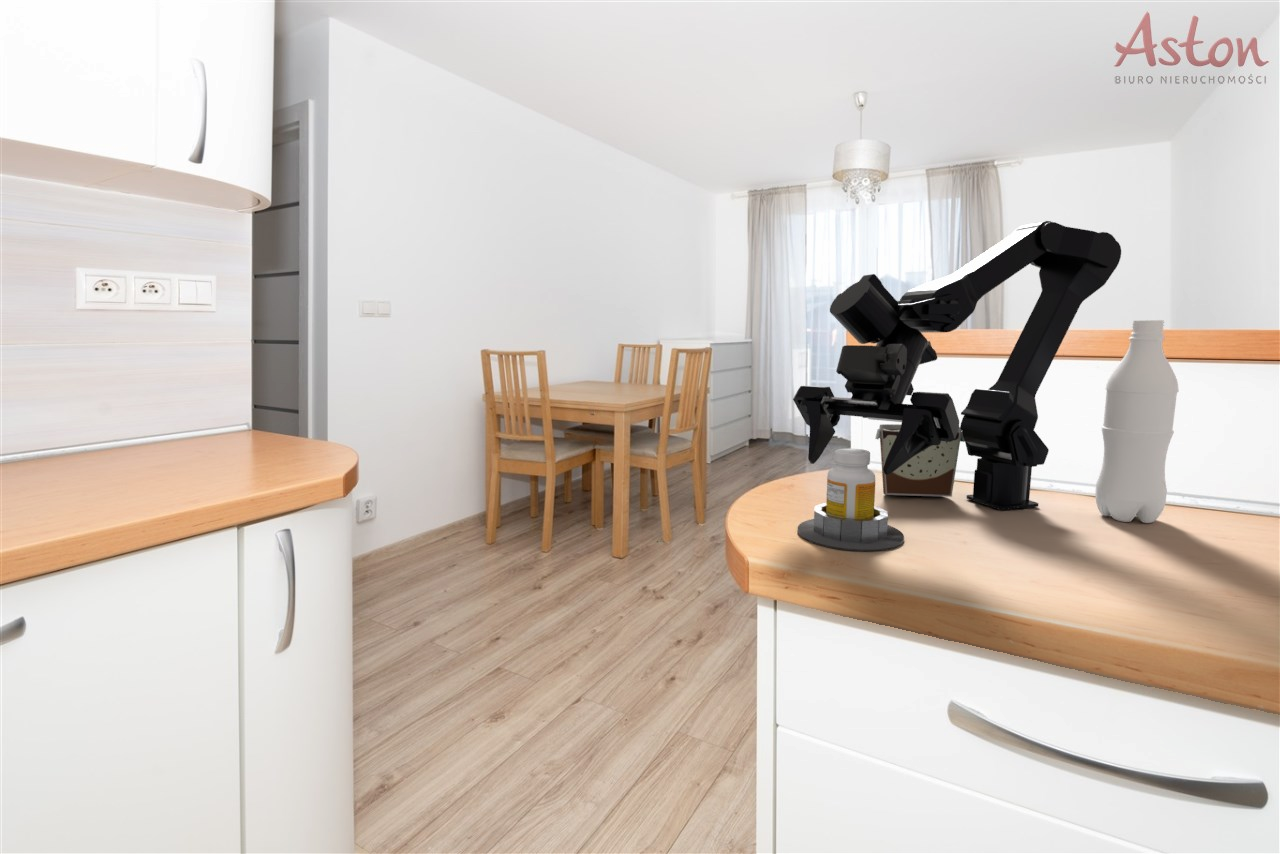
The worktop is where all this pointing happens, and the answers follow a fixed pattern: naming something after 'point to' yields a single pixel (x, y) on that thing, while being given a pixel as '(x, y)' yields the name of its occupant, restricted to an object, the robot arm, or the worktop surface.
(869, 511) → the supplement bottle
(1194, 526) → the worktop surface
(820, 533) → the ring collar
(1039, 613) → the worktop surface
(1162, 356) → the water bottle
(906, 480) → the food container
